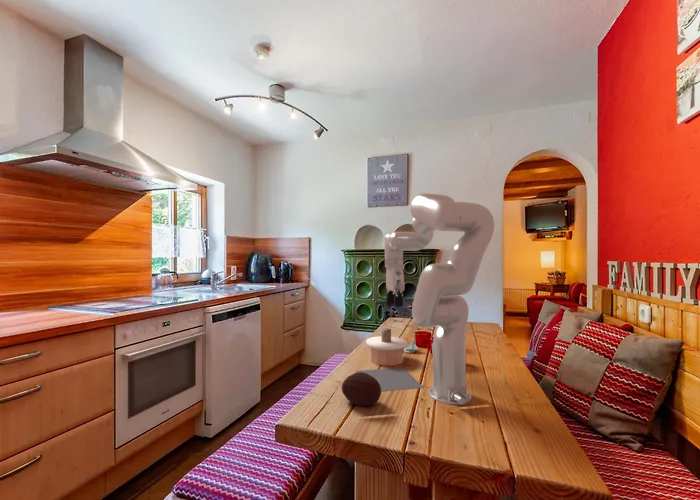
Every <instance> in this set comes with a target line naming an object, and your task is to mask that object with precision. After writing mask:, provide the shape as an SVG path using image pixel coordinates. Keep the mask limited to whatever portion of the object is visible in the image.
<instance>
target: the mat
mask: <svg viewBox="0 0 700 500" xmlns="http://www.w3.org/2000/svg"><path fill="white" fill-rule="evenodd" d="M358 372H363V373H367V374H369V375H371V376H372V377H374V378H375V379H376V380H377V381H378V383H379V384H380V387H381V392H389V391H390V392H391V391H401V390H403V391H404V390H415V389H416V390H417V389H424V388H425V387H424V386H423V385H422V384H421V383H420V382H419V381H418V380H417V379H416V378H415V377H414V376H413V375H412V374H411V373H409V371H408V370H406V369H405V368H404V367H392V368H391V367H390V368H379V369H378V368H375V369H365V370H362V369H361V370H355V373H358Z"/></svg>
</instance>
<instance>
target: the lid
mask: <svg viewBox="0 0 700 500" xmlns="http://www.w3.org/2000/svg"><path fill="white" fill-rule="evenodd" d="M365 345H366V347H368V348H369V347H371V348H374V349H379V350H398V349H402V348H404V349H405V348H407V347H408V341H407V340H406V339H405V338H402V337H399V336H398V337H397V336H392V329H391V328H390V327H389V328H388V327H384V328H381V335H380V336H378V335H377V336H372V337H368V338H367V339H366V340H365Z"/></svg>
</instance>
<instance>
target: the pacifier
mask: <svg viewBox="0 0 700 500" xmlns="http://www.w3.org/2000/svg"><path fill="white" fill-rule="evenodd" d="M411 340H412V341H411V344H409V345H407V346H406V347H405V348H404V353H408V354H410V353H415V351H418V346H417V345H416V339H415V338H414V337H413V338H412V339H411Z"/></svg>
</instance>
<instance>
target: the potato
mask: <svg viewBox="0 0 700 500" xmlns="http://www.w3.org/2000/svg"><path fill="white" fill-rule="evenodd" d="M341 392H342V394H343V396H344V397H345V398H346V399H347V401H349V402H350V403H351V404H353V405H356V406H358V407H368V406H369V407H370V406H373V405H374V404H376V403H377V402H378V401H379V400H380V398H381V395H382V391H381V387H380V384H379V383H378V381H377V380H376V379H375V378H374V377H372V376H371V375H369V374H367V373H363V372H358V373H356V372H354V373H352V374H350V375H349V376H347V377H346V378H345V379H344V380H343V383H342V385H341Z"/></svg>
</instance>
